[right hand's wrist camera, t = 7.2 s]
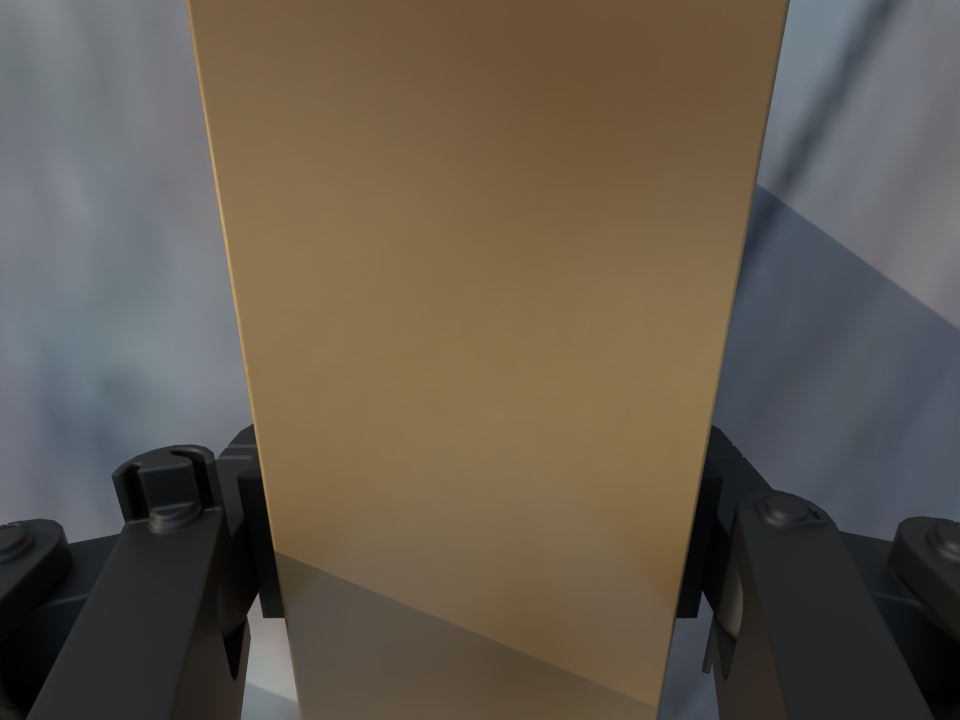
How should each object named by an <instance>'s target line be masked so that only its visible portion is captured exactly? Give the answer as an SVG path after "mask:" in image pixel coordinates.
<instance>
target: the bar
mask: <svg viewBox="0 0 960 720" xmlns="http://www.w3.org/2000/svg"><path fill="white" fill-rule="evenodd" d="M185 1H186V7H187V13H188V19H189V26H190V32H191V38H192V44H193V50H194V57H195V63H196V69H197V75H198V81H199V88H200V94H201V100H202V106H203V113H204V119H205V125H206V131H207V137H208V144H209V150H210V156H211V162H212V168H213V175H214V181H215V187H216V193H217V199H218V206H219V212H220V218H221V224H222V231H223V237H224V243H225V249H226V255H227V262H228V268H229V274H230V280H231V286H232V293H233V299H234V305H235V311H236V317H237V324H238V330H239V336H240V342H241V349H242V355H243V361H244V367H245V373H246V380H247V386H248V392H249V398H250V404H251V411H252V417H253V423H254V429H255V435H256V442H257V448H258V454H259V460H260V467H261V473H262V479H263V485H264V491H265V498H266V504H267V510H268V516H269V522H270V529H271V535H272V541H273V547H274V553H275V560H276V566H277V572H278V578H279V584H280V591H281V597H282V603H283V609H284V616H285V622H286V628H287V634H288V640H289V647H290V653H291V659H292V665H293V671H294V678H295V684H296V690H297V696H298V702H299V709H300V715H301V720H657V718H658V713H659V707H660V702H661V697H662V691H663V686H664V680H665V675H666V669H667V664H668V659H669V653H670V648H671V642H672V637H673V631H674V626H675V621H676V615H677V610H678V604H679V599H680V593H681V588H682V583H683V577H684V572H685V566H686V561H687V555H688V550H689V545H690V539H691V534H692V528H693V523H694V518H695V512H696V507H697V501H698V496H699V490H700V485H701V480H702V474H703V469H704V463H705V458H706V452H707V447H708V442H709V436H710V431H711V425H712V420H713V414H714V409H715V404H716V398H717V393H718V387H719V382H720V376H721V371H722V366H723V360H724V355H725V349H726V344H727V339H728V333H729V328H730V322H731V317H732V311H733V306H734V301H735V295H736V290H737V284H738V279H739V273H740V268H741V263H742V257H743V252H744V246H745V241H746V235H747V230H748V225H749V219H750V214H751V208H752V203H753V197H754V192H755V187H756V181H757V176H758V170H759V165H760V160H761V154H762V149H763V143H764V138H765V132H766V127H767V122H768V116H769V111H770V105H771V100H772V94H773V89H774V84H775V78H776V73H777V67H778V62H779V56H780V51H781V46H782V40H783V35H784V29H785V24H786V19H787V13H788V8H789V2H790V0H185Z"/></svg>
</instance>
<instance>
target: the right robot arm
mask: <svg viewBox="0 0 960 720" xmlns="http://www.w3.org/2000/svg"><path fill="white" fill-rule="evenodd" d="M228 446H229V447H228V448H225V450H224V451H223V452H222V453H221V454H220V455H219V456H218V457H219V458H218V459H216V460H215V458H214V453H213V452H212V451H211V450H209V449H208V448H206V447H203V446H198V445H192V444H191V445H173V446H169V447H164V448H159V449H155V450H152V451H149V452H147V453H144V454H141V455H138V456H136V457H134V458H133V459H131V460H129V461H127V462H126V463H124V464H122V465H121V466H120V467H119V468H118V469H117V470H116V471H115V472H114V473H113V474H112V475H111V476H112V479H113V482H114V486H115V489H116V493H117V496H118V500H119V503H120V507H121V510H122V514H123V517H124V520H125V525H124V527H123V529H122V531H121V533H120V534H116V535H112V536H107V537H101V538H96V539H91V540H86V541H81V542H76V543H71V544H68V542H67V539H66V536H65V533H64V530H63V527H62V526H61V525H60V524H58V523H57V522H55V521H54V520H45V519H33V520H26V521H17V522H12V523H8V524H7V525H5V524H4V525H1V526H0V720H240V719H241V711H242V703H243V695H244V688H245V680H246V672H247V664H248V656H249V648H250V640H251V635H250V628H249V623H248V618H247V613H248V611H249V610H250V608H251V606H252V604H253V602H254V600H255V598H256V596H257V594H258V592H259V597H260V603H261V608H262V613H263V618H285V616H284V609H283V603H282V597H281V591H280V584H279V578H278V572H277V566H276V560H275V553H274V547H273V541H272V535H271V529H270V522H269V516H268V510H267V504H266V498H265V491H264V485H263V479H262V473H261V467H260V460H259V454H258V448H257V442H256V435H255V429H254V424H252V425H250V426H249V427H247V428H245V429H244V430H242V431H240V432H239V434H238V435H237V436H236V437H235V438H234V439H233V440H232V442H231V443H230V444H229V445H228ZM702 590H703V592H704V594H705V596H706V598H707V600H708V602H709V604H710V606H711V608H712V610H713V612H714V613H713V618H712V623H711V628H710V633H709V637H708V642H707V647H706V652H705V657H704V662H703V669H702V672H704V673H708V674H709V673H710V669H711V664H712V662H713V670H714V678H715V686H716V694H717V702H718V710H719V718H720V720H960V523H958V522H956V523H955V522H954V521H951V520H947V519H938V518H931V517H923V516H922V517H913V518H907V519H905V520H904V521H902V522H901V523H900V524H899V525H898V528H897V531H896V534H895V537H894V540H893V542H892V541H887V540H881V539H876V538H871V537H866V536H861V535H856V534H851V533H846V532H842V531H839V530H838V528H837V526H836V524H835V523H834V521H833V520H832V519H831V518H830V517H829V515H828V514H827V513H826V512H825V511H824V510H822V509H821V508H819V507H818V506H816V505H815V504H813V503H812V502H810V501H808V500H805V499H803V498H801V497H798V496H796V495H794V494H790V493H786V492H781V491H777V490H773V489H772V488H771V487H770V486H769V484H768V483H767V482H766V481H765V480H764V479H763V478H762V476H761V475H760V474H759V473H758V472H757V471H756V470H755V469H754V467H753V466H752V465H751V464H750V463H749V462H748V461H747V459H746V458H742V454H741V453H740V452H739V450H738V449H737V448H736V447H735V446H732V442H731V441H730V440H729V439H728V438H727V437H726V436H725V434H724V433H723V432H722V431H721V430H720V429H718V428H717V427H715V426H713V425H711V431H710V436H709V442H708V447H707V452H706V458H705V463H704V469H703V474H702V480H701V485H700V490H699V496H698V501H697V507H696V512H695V518H694V523H693V528H692V534H691V539H690V545H689V550H688V555H687V561H686V566H685V572H684V577H683V583H682V588H681V593H680V599H679V604H678V610H677V615H676V618H697V615H698V610H699V604H700V599H701V594H702Z"/></svg>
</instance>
